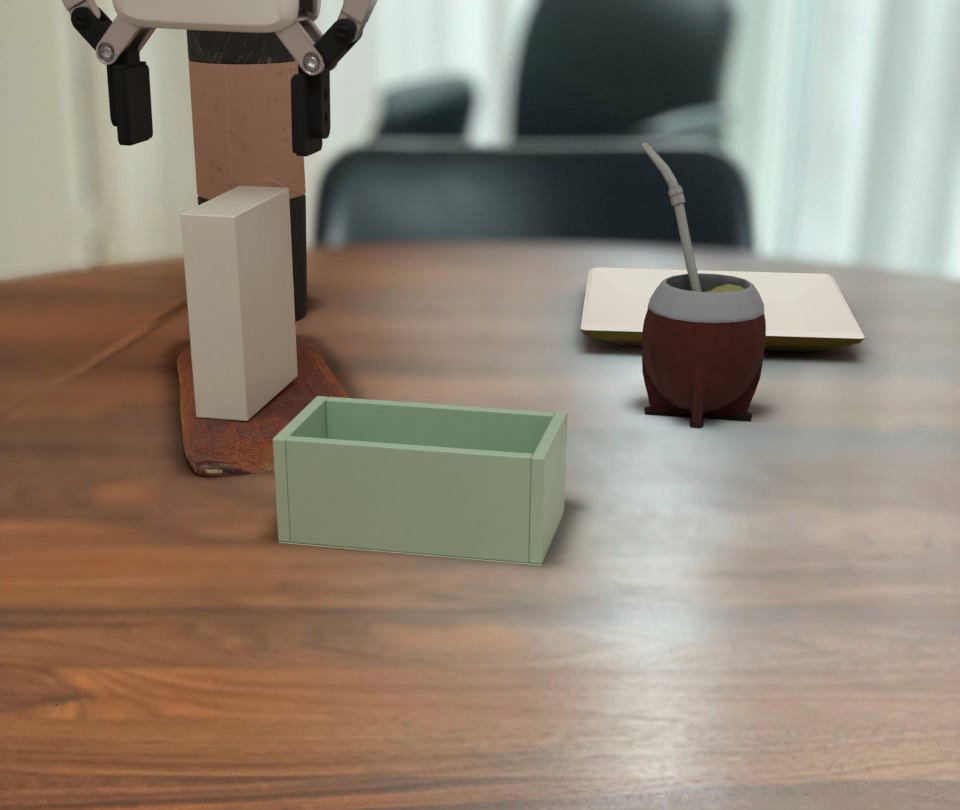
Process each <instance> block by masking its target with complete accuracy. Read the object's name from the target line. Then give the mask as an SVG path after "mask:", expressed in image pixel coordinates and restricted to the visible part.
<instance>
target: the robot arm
mask: <svg viewBox="0 0 960 810" xmlns="http://www.w3.org/2000/svg"><path fill="white" fill-rule="evenodd" d="M111 1H112V2H111V3H112V6H113V9H114V12H115V13H116V14H117V15H116V16H115V18H114V20H113V21H112V19H111V18H110V17H109V16H108V15H107V14H106V12H105V11H104V10H103V9H102V8H101V7H99V6H98V5H97V2H96V0H61V2H62V5H63V6H64V8H65V10H66V11H68V13H69V15H70V22H71V25H72V27H73V28H74V30H76V31H77V33H78V34H79V35H80V36H81V37H82V38H83V39H84V40H85V41H86V42H87V44H89V46H90V47H91V48H92V49H93V50H94V52H95V56H96V58H97V60H98V61H99V62H100V63H101V64H103V65H105V67H106V76H107V91H108V104H109V117H110V122H111V125H112V126H113V127H115V128H116V136H117V142H118V144H119V146H127V147H128V146H129V147H130V146H134V145H137V144H140V143H144V142H146V141H149V140H150V139H152V138H153V135H154V127H153V126H154V125H153V110H152V93H151V91H152V90H151V77H150V76H151V75H150V67H149V64H147V61H146V60H145V61H144V60H141V54H140V53H141V51H142V50H143V48H144V47H145V45H146V44H147V43H148V41H149V39H150V38H151V37H152V35H153V34H154V33H155V31H156V30H157V29H165V30H167V29H168V30H184V31H185V30H186V31H187V30H204V31H226V32H251V33H270V32H275V34H276V35H277V36H278V38H279V39H280V40H281V42H282V43H283V44H284V46H285V47H286V48H287V50H288V51H289V52H290V54H291V55H292V56H293V58H294V59H295V60H296V62H297V63H298V74H295V75H293V77H292V78H291V120H292V151H293V153H296V155H297V156H304V157H309V156H312V155H313V154H316V153H319V152H321V151H322V149H323V140H326V139H328V138H329V137H330V134H331V71H333V70H335V68H337V66H338V63H340V61H341V60H342V59H343V58H344V57H345V56H346V55H347V53H349V51H350V50H351V49H353V47H354V46H355V45H357V43H358V42H359V41H360V40H361V38H362V37H363V34H364V29H365V27H366V25H367V23H368V22H369V20H370V17H371V16H372V13H373V11H374V9H375V6H376V5H377V2H378V1H379V0H343V3H342V7H341V9H340V13H339V15H338V17H337V19H336V21H335V22H333V24H332V25H330V27H329V28H328V29H327V30H326V31H325V32H324V33H322V31H321V30H320V29H319V27H318V26H317V24H316V23H315V21H316V20H317V19H318V18H319V16H320V14H321V8H322V0H111Z"/></svg>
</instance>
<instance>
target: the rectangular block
mask: <svg viewBox="0 0 960 810" xmlns="http://www.w3.org/2000/svg"><path fill="white" fill-rule="evenodd" d="M179 218H180V226H181V227H180V228H181V229H180V230H181V237H182V238H181V240H182V241H181V242H182V253H183V266H184V279H185V290H186V291H185V292H186V302H187V303H186V304H187V318H188V330H189V342H190V343H189V344H190V348H191V356H192V369H193V382H194V394H195V407H196V417H197V418H210V419H223V420H237V421H248V420H249V419H250V418H251V417H253V416H254V415H255V414H256V413H257V412H258V411H259V410H260V409H261V408H263V407H264V406H265V405H266V404H267V403H268V402H269V401H270V400H272V399H273V398H274V397H275V396H276V395H277V394H278V393H279V392H280V391H282V390H283V389H284V388H285V387H286V386H287V385H288V384H289V383H291V382H292V381H293V380H294V379H295V378H296V377H297V376H298V372H297V351H296V338H297V335H296V334H297V332H296V320H295V309H294V288H293V267H292V245H291V224H290V203H289V188H282V187H259V186H238V187H236V188H234V189H232V190H230V191H228V192H225V193H223V194H221V195H219V196H217V197H215V198H213V199H211V200H209V201H207V202H205V203H202V204H200V205H198V204H197V205H196V206H194V207H192V208H190V209H188V210H186V211H184V212H182V213H180V216H179Z"/></svg>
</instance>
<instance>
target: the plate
mask: <svg viewBox="0 0 960 810" xmlns="http://www.w3.org/2000/svg"><path fill="white" fill-rule="evenodd" d="M697 273H705V274H721V275H729V276H735V277H739V278H742V279H746V280H747V281H749V282H751V283H752V284H753V285H754V286H755V288H756V289H757V291H758V292H759V294H760V297H761V299H762V301H763V303H764V315H765V320H766V343H765V349H764V351H771V352H805V353H812V352H818V351H824V350H829V349H835V348H841V347H847V346H852V345H857V344H861V343H862V342H863V340H864V339H865V338H866V336H865V335H864V332H863V331H862V328H861V327H860V325H859V323H858V321H857V320H856V318H855V315H854V313H853V312H852V310H851V308H850V306H849V305H848V302H847V301H846V299H845V296H844V295H843V294H842V292H841V290H840V287H839V286H838V284H837V282H836V280H835V278H834V276H832V275H831V274H829V273H828V274H827V273H813V272H809V273H808V272H807V273H806V272H778V271H777V272H775V271H766V272H765V271H739V270H737V271H736V270H734V271H733V270H732V271H731V270H705V269H703V270H701V269H700V270H699V269H697ZM682 274H688V272H687V269H667V268H666V269H663V268H632V267H631V268H630V267H629V268H627V267H592V268H590V269H589V270H588V273H587V280H586V287H585V292H584V301H583V308H582V315H581V323H580V331H581V332H582V335H585V336H588V337H592V338H595V339H599V340H603V341H607V342H610V343H613V344H617V345H620V346H624V347H642V331H643V324H644V319H645V316H646V313H647V310H648V303H649V300H650V298H651V296H652V295H653V293H654V291H655V290H656V288H657V287H658V286H659V284H660V283H661V282H662V281H663V280H664V279H666V278H669V277H671V276H676V275H682Z"/></svg>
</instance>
